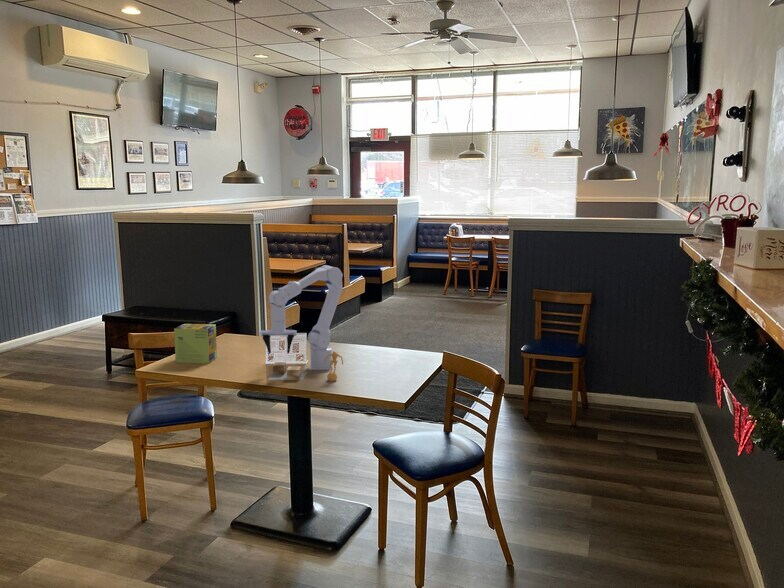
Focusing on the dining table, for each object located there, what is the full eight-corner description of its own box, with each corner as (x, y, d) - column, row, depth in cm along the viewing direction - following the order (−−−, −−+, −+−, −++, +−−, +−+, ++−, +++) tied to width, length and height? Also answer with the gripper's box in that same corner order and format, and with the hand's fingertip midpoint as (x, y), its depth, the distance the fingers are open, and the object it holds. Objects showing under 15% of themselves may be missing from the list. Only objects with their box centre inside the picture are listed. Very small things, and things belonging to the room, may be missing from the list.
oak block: (301, 375, 249) (301, 366, 248) (299, 379, 244) (299, 369, 243) (288, 375, 249) (288, 366, 248) (286, 379, 244) (286, 369, 243)
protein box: (209, 363, 268) (208, 329, 265) (175, 363, 269) (173, 328, 266) (217, 357, 278) (216, 324, 276) (184, 356, 279) (183, 323, 276)
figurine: (320, 381, 243) (320, 352, 241) (327, 377, 248) (327, 349, 246) (339, 384, 240) (339, 354, 238) (346, 380, 245) (345, 351, 244)
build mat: (307, 372, 255) (307, 371, 255) (302, 381, 243) (302, 380, 243) (273, 372, 255) (273, 371, 255) (267, 381, 243) (267, 379, 243)
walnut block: (286, 371, 254) (285, 362, 254) (284, 374, 250) (283, 365, 249) (275, 371, 254) (274, 362, 254) (273, 374, 250) (272, 365, 249)
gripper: (297, 318, 253) (297, 350, 255) (261, 318, 252) (262, 350, 254) (295, 321, 246) (296, 354, 248) (258, 322, 245) (259, 354, 247)
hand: (279, 352), depth 251 cm, fingers open, 7 cm apart
